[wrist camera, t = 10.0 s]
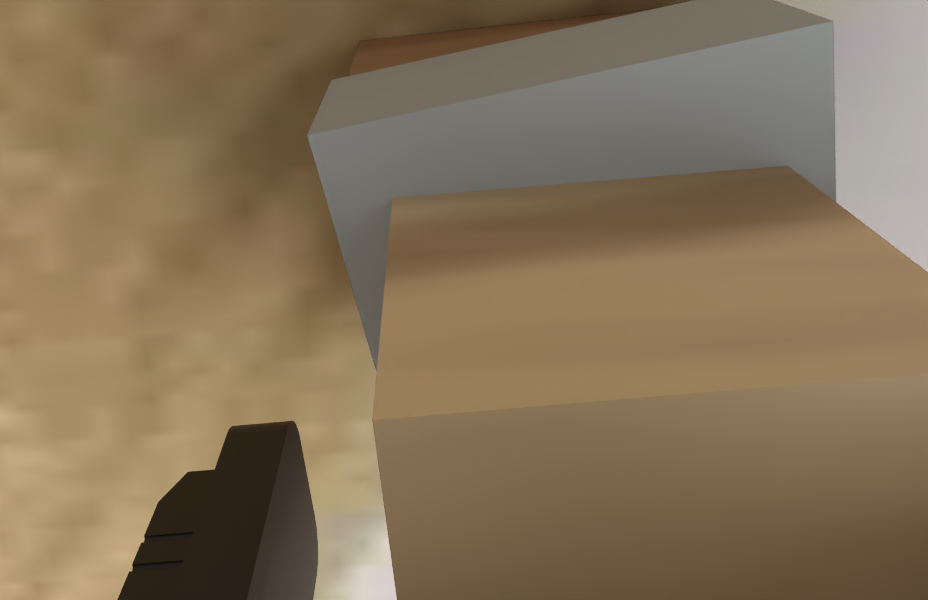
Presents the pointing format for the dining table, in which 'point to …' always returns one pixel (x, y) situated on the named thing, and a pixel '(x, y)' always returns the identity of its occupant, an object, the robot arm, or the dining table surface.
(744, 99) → the tower top
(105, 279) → the dining table surface
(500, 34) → the tower base
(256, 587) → the robot arm
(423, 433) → the oak cube
